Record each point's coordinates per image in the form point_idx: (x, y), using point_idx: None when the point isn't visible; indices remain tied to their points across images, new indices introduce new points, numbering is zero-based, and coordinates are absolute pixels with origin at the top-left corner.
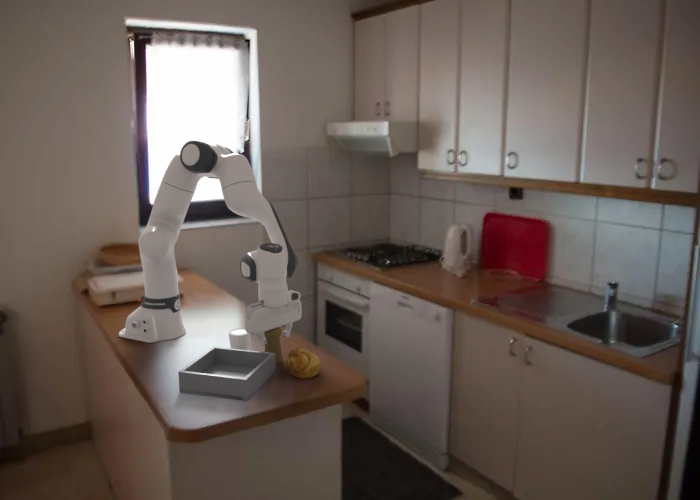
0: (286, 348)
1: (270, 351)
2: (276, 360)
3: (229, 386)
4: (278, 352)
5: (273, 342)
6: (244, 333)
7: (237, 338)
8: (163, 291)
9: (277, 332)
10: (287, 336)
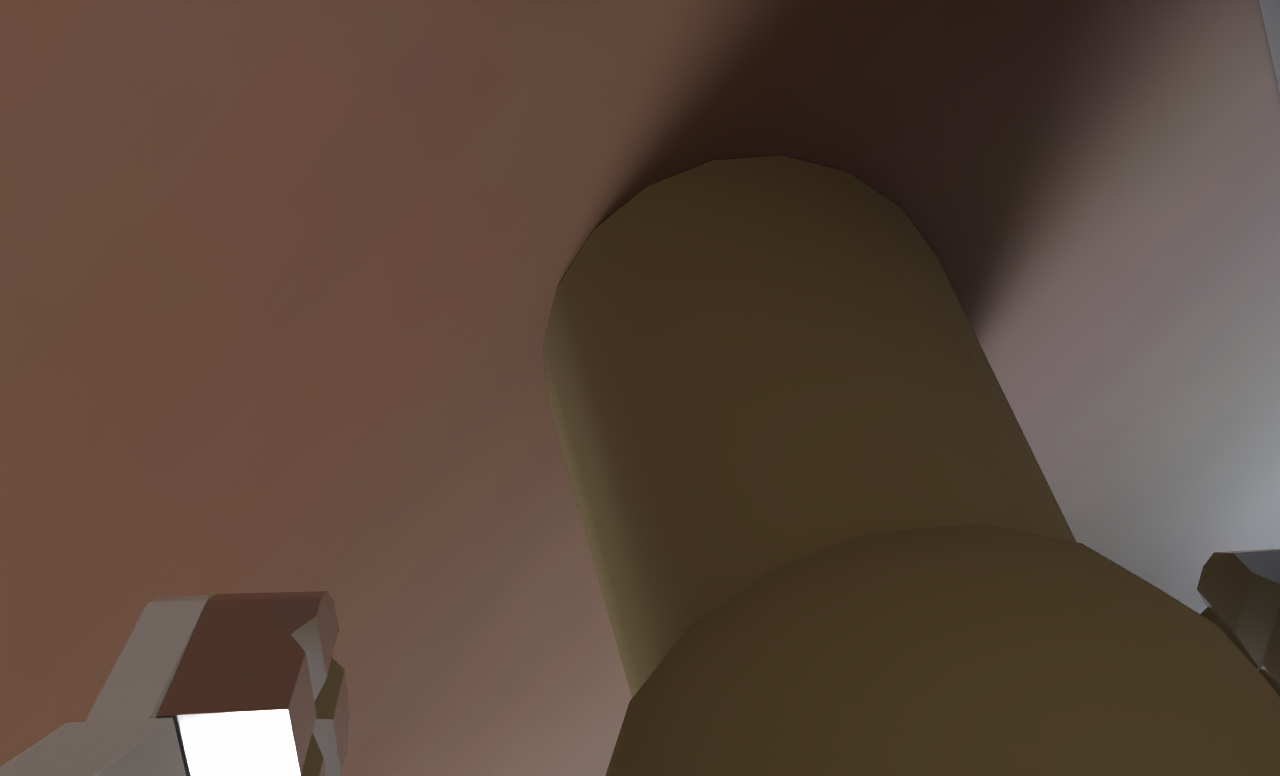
0: (110, 665)
1: (1003, 400)
2: (852, 207)
3: None
4: (813, 276)
5: (1024, 497)
6: None
7: None
8: None
9: (1075, 667)
10: (274, 597)
